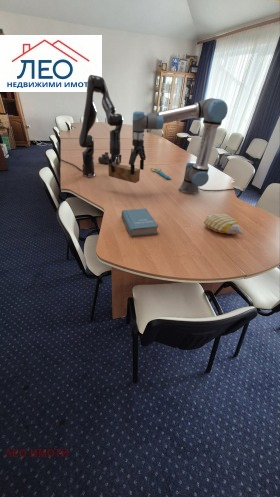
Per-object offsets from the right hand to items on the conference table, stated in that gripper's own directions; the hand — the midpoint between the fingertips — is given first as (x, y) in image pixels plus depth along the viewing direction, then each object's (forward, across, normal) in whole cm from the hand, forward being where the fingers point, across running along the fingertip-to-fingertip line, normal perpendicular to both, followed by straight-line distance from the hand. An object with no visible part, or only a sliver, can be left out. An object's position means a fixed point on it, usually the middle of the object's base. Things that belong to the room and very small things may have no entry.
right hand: (137, 171), depth 157 cm
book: (+19, -37, -22) cm, 47 cm away
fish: (+20, -13, -68) cm, 72 cm away
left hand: (+2, 0, +19) cm, 19 cm away
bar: (+7, 0, +11) cm, 13 cm away
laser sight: (+18, +57, +65) cm, 88 cm away
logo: (+20, +63, +7) cm, 66 cm away
